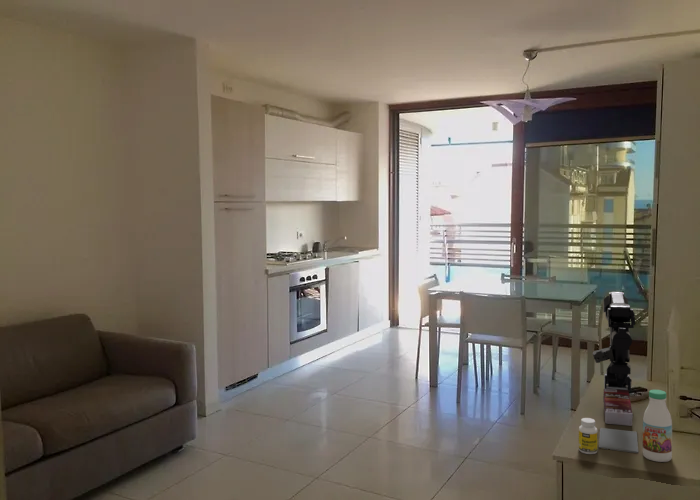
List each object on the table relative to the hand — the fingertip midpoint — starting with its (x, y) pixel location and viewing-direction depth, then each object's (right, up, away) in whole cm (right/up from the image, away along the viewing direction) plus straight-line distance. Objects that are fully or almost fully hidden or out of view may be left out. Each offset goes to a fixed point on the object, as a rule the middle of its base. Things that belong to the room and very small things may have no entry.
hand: (619, 387), depth 203 cm
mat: (-6, -14, -13) cm, 20 cm away
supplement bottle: (-19, -15, -19) cm, 31 cm away
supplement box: (-1, -11, -1) cm, 11 cm away
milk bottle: (0, -15, -25) cm, 30 cm away
